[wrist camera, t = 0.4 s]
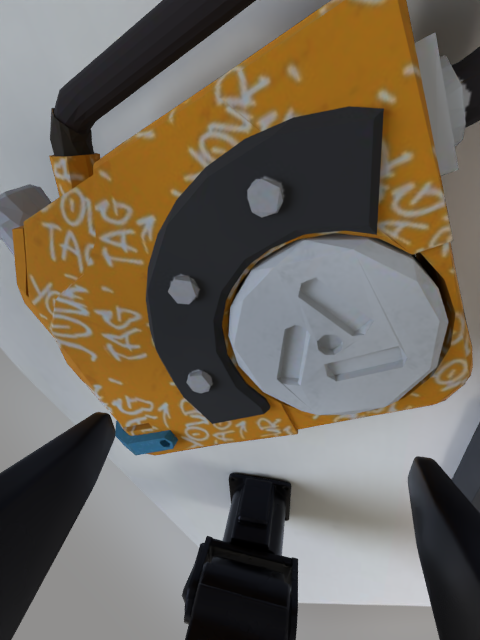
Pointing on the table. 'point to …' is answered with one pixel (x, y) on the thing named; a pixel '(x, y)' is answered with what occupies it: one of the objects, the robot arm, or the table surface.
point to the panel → (470, 471)
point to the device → (256, 230)
